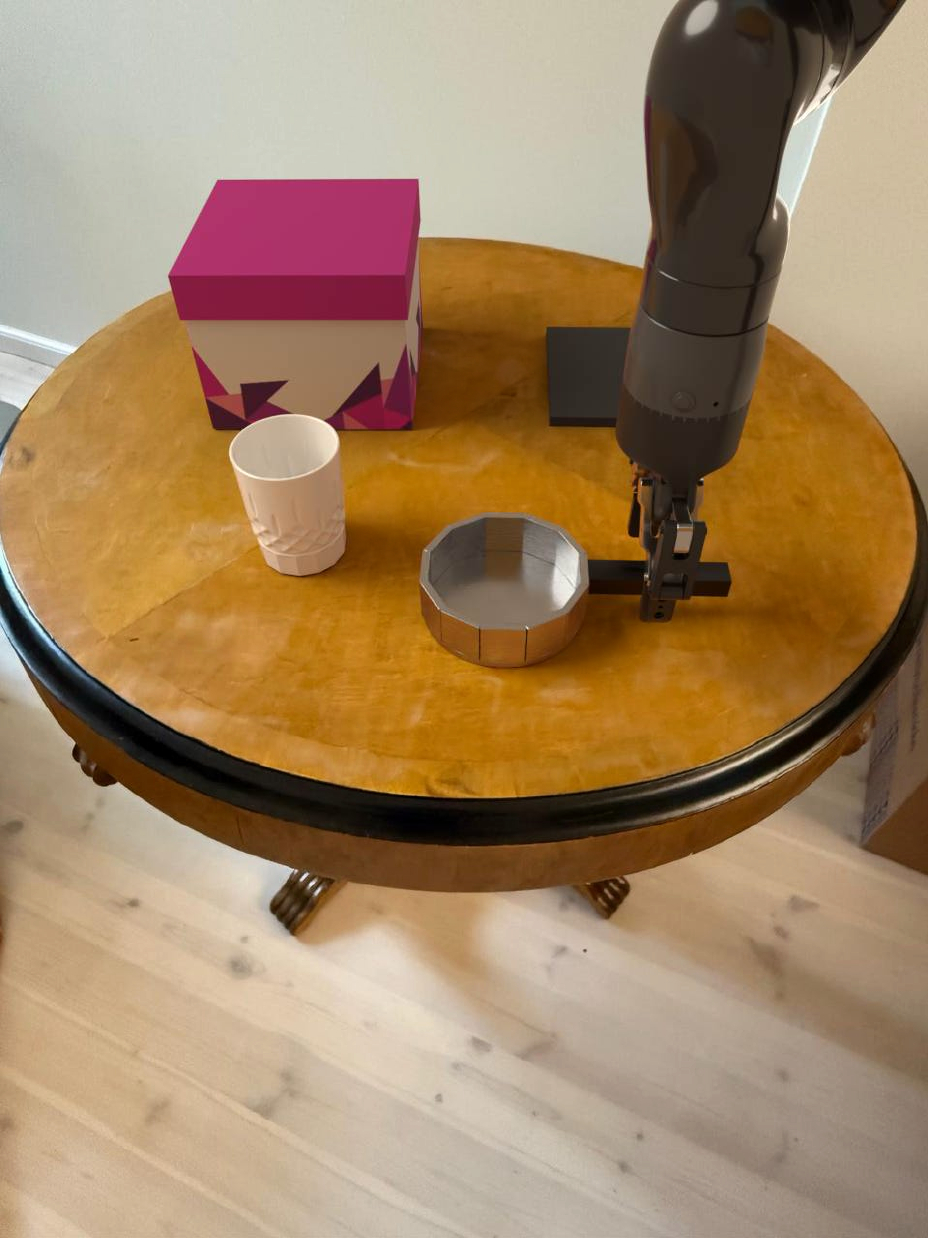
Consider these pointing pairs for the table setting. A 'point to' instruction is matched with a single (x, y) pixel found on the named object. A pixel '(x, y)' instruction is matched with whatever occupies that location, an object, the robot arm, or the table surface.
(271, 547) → the white cup
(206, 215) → the decorative box
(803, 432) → the table surface
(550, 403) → the trivet
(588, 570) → the steel pan
